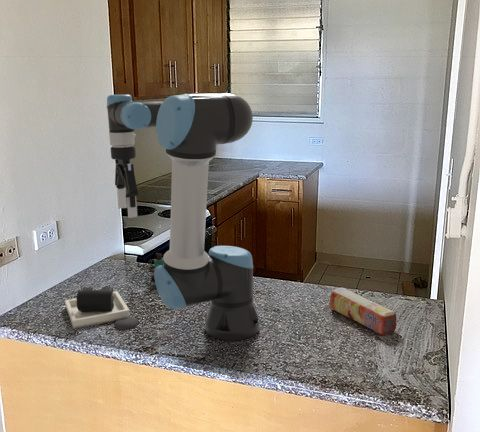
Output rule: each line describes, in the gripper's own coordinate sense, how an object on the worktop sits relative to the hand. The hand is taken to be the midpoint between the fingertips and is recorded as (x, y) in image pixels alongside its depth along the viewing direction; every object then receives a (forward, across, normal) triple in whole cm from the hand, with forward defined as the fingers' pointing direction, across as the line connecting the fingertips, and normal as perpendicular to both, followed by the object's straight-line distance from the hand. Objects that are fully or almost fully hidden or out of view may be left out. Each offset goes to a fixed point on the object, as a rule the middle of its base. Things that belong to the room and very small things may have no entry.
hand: (127, 212), depth 167 cm
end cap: (+26, -12, +14) cm, 32 cm away
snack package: (+27, -52, -53) cm, 79 cm away
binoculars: (+27, +6, -12) cm, 30 cm away
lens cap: (+27, -24, +8) cm, 37 cm away
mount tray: (+27, -12, +14) cm, 32 cm away
